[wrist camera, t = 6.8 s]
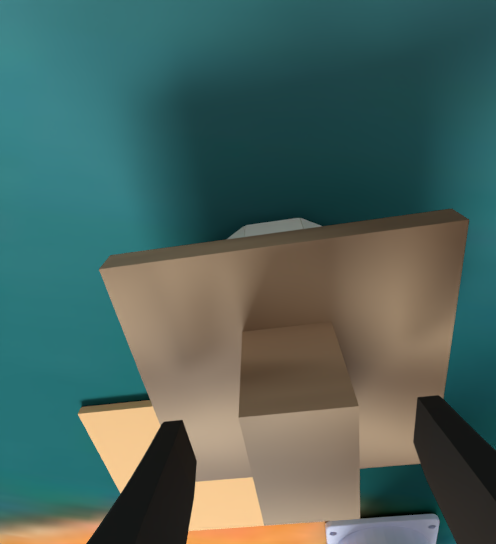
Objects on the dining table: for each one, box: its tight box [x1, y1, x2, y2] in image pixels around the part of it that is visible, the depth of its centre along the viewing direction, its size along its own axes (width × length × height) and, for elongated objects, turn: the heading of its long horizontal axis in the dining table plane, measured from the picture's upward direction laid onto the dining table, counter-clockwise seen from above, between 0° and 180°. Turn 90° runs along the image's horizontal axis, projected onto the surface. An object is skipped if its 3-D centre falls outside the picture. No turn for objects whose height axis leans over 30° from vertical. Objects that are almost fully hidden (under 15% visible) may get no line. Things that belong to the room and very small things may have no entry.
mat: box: [78, 400, 309, 531], centre depth 23 cm, size 13×13×1 cm
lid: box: [99, 209, 469, 526], centre depth 12 cm, size 11×11×4 cm
